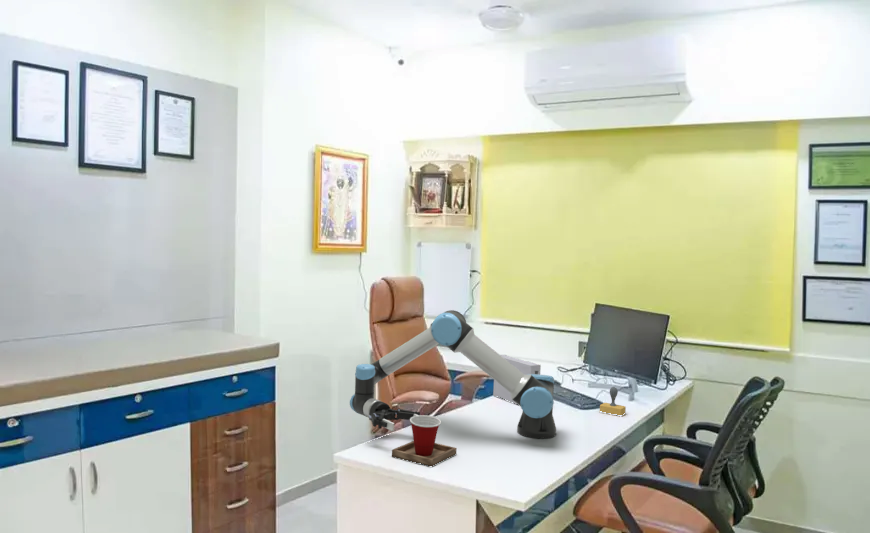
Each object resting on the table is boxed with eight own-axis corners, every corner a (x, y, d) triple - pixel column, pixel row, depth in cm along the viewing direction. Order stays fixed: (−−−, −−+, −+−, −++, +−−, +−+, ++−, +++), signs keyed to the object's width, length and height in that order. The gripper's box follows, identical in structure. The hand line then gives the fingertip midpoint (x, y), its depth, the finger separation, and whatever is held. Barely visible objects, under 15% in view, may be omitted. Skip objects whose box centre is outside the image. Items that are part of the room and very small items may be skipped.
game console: (502, 395, 321) (504, 354, 321) (539, 408, 298) (541, 364, 297) (493, 396, 318) (494, 355, 318) (529, 409, 295) (531, 365, 294)
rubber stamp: (625, 414, 294) (626, 387, 294) (621, 417, 289) (622, 389, 289) (604, 410, 300) (605, 384, 299) (599, 412, 295) (600, 386, 295)
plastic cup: (416, 460, 219) (418, 425, 219) (403, 450, 229) (404, 416, 229) (445, 457, 224) (446, 422, 224) (431, 447, 234) (432, 414, 233)
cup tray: (456, 454, 229) (456, 447, 229) (431, 467, 216) (431, 459, 216) (418, 445, 238) (418, 438, 238) (391, 456, 224) (391, 449, 224)
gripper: (403, 416, 258) (436, 430, 241) (348, 425, 243) (379, 440, 226) (404, 397, 258) (437, 409, 241) (348, 404, 243) (380, 418, 226)
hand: (409, 424), depth 234 cm, fingers open, 13 cm apart
